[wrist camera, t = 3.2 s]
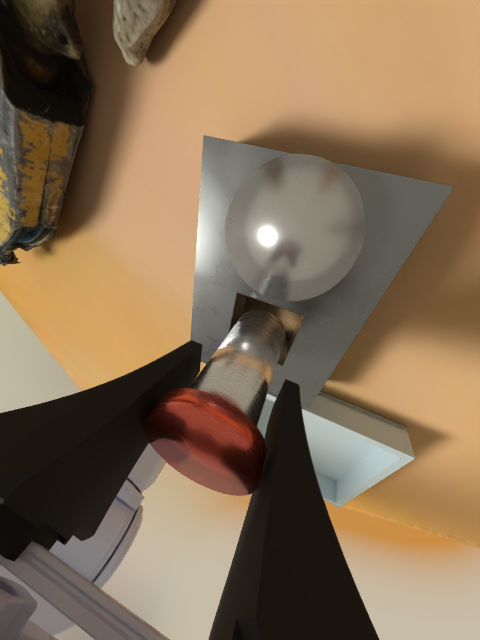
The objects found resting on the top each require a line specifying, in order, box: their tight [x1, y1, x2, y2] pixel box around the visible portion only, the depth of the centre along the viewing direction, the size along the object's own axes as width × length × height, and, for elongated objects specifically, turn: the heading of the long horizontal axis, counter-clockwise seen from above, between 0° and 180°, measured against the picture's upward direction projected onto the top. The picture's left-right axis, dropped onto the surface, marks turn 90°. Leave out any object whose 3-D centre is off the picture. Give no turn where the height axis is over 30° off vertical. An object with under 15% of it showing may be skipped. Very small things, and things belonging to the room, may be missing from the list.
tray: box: [257, 391, 415, 507], centre depth 21 cm, size 12×12×2 cm
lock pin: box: [143, 310, 286, 496], centre depth 10 cm, size 4×4×8 cm
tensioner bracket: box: [190, 135, 454, 408], centre depth 13 cm, size 14×10×4 cm
